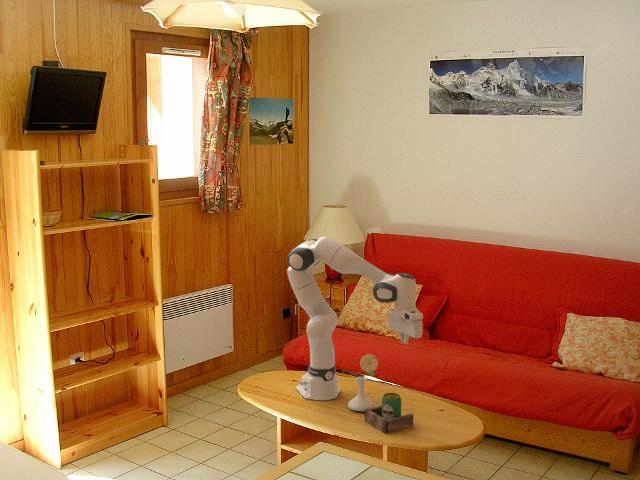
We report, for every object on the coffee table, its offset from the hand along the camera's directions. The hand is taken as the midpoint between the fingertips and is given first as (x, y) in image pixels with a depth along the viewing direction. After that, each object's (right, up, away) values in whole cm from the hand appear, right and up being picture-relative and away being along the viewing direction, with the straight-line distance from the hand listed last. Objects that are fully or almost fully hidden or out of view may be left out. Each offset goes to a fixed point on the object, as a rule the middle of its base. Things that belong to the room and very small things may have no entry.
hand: (404, 343), depth 323 cm
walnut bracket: (-7, -33, -7) cm, 34 cm away
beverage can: (-6, -33, -7) cm, 34 cm away
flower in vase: (-17, -30, +9) cm, 36 cm away
